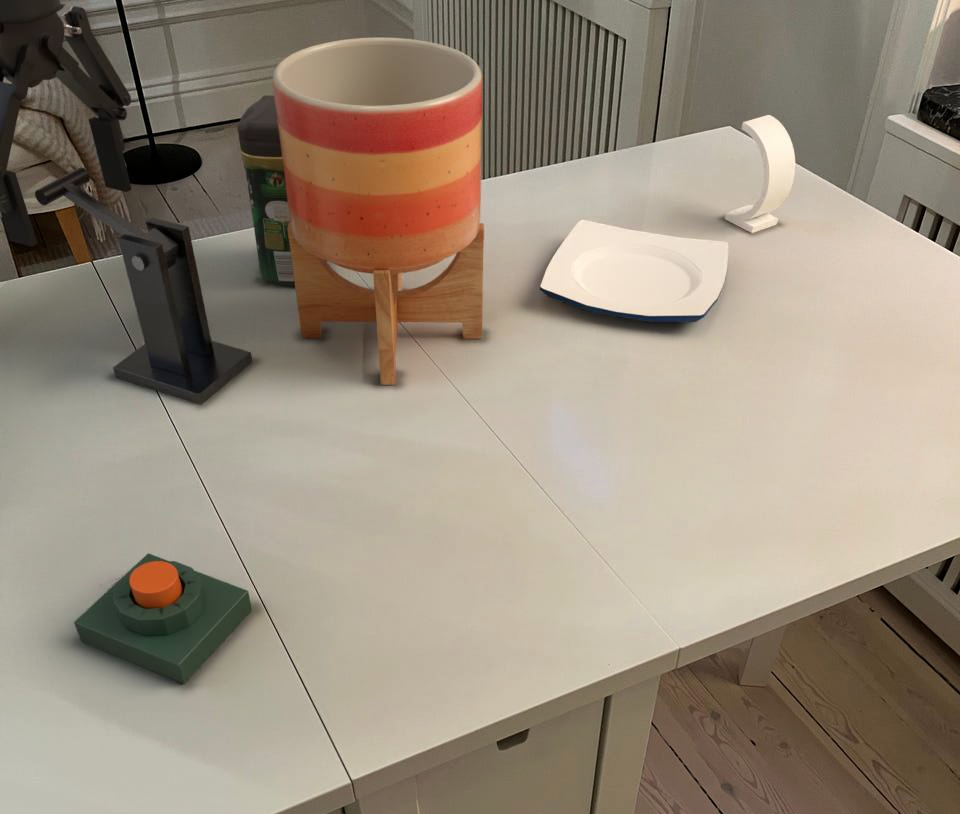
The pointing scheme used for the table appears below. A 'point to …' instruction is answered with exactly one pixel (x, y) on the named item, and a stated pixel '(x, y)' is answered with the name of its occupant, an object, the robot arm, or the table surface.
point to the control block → (166, 622)
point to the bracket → (173, 322)
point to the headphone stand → (768, 174)
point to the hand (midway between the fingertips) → (73, 214)
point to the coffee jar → (267, 189)
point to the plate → (636, 273)
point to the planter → (383, 183)
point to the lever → (101, 210)
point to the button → (155, 584)
